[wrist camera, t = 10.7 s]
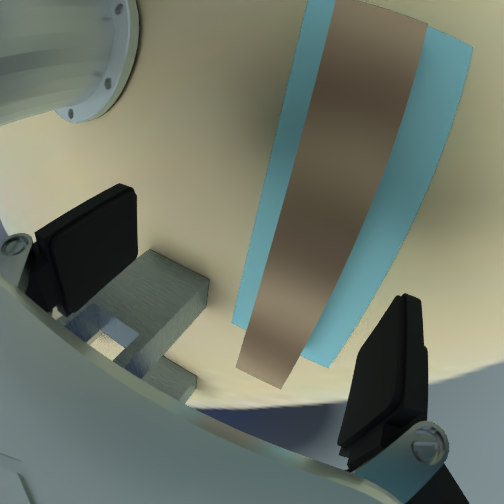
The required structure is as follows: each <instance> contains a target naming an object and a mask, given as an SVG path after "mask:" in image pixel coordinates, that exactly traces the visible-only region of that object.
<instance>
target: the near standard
mask: <svg viewBox="0 0 504 504" xmlns="http://www.w3.org/2000/svg"><path fill="white" fill-rule="evenodd" d="M209 281H210V280H209V279H207V278H205V277H203V276H201V275H199V274H197V273H195V272H193V271H191V270H189V269H187V268H185V267H183V266H181V265H179V264H177V263H175V262H173V261H171V260H169V259H167V258H165V257H164V256H162V255H160V254H158V253H156V252H154V251H152V250H150V249H149V250H148V251H146V252H145V253H143V254H142V255H141V256H139V257H138V258H137V259H135V261H134V262H133V263H131V264H130V265H129V266H128V267H127V268H125V269H124V270H123V271H122V272H121V273H120V274H119V275H117V276H116V277H115V278H114V279H113V280H112V281H111V282H109V283H108V284H107V285H106V286H105V287H104V288H103V289H101V290H100V291H99V292H98V293H97V294H96V295H95V296H94V297H93V298H91V299H90V300H89V301H88V302H87V303H86V304H85V305H84V306H83V307H82V308H81V309H79V310H78V311H77V312H75V313H72V314H71V315H70V316H69V317H67V318H66V317H65V316H64V315H62V316H61V317H59V318H58V319H57V321H58V322H59V323H60V324H62V325H63V326H64V327H65V328H67V329H68V330H69V331H71V332H72V333H73V334H75V335H76V336H77V337H79V338H80V339H81V340H83V341H84V342H87V341H89V340H90V339H91V338H92V337H93V336H94V335H95V334H96V333H97V332H99V331H100V330H101V331H102V332H104V333H105V334H106V335H108V336H109V337H110V338H112V339H113V340H114V341H116V342H117V343H119V344H120V345H121V346H123V347H124V348H125V349H124V350H123V351H122V352H121V353H120V354H119V355H118V356H117V357H116V358H115V359H114V360H113V362H114V363H116V364H117V365H119V366H121V367H122V368H124V369H125V370H127V371H128V372H130V373H132V374H133V375H135V376H136V377H138V378H140V379H142V378H143V377H144V376H145V375H146V373H147V372H148V371H149V370H150V369H151V368H152V367H153V366H154V365H155V363H156V362H157V361H158V360H159V359H160V358H161V357H162V356H163V355H164V353H165V352H166V351H167V350H168V349H169V348H170V347H171V346H172V345H173V343H174V342H175V341H176V340H177V339H178V338H179V337H180V336H181V335H182V333H183V332H184V331H185V330H186V329H187V328H188V327H189V326H190V325H191V323H192V322H193V321H194V320H195V319H196V318H197V317H198V316H199V315H200V313H201V312H202V311H203V310H204V309H205V308H206V302H207V295H208V287H209Z"/></svg>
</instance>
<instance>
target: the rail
mask: <svg viewBox="0 0 504 504" xmlns="http://www.w3.org/2000/svg"><path fill="white" fill-rule="evenodd" d="M427 27H428V24H427V23H424V22H422V21H419V20H416V19H414V18H411V17H408V16H406V15H403V14H400V13H397V12H394V11H391V10H388V9H384V8H381V7H378V6H374V5H371V4H367V3H363V2H360V1H356V0H336V1H335V5H334V9H333V13H332V17H331V22H330V26H329V30H328V34H327V38H326V42H325V46H324V50H323V54H322V58H321V62H320V66H319V70H318V73H317V77H316V81H315V85H314V89H313V93H312V97H311V101H310V104H309V108H308V112H307V116H306V120H305V124H304V127H303V131H302V135H301V139H300V142H299V146H298V150H297V154H296V157H295V161H294V165H293V168H292V172H291V176H290V179H289V183H288V187H287V190H286V194H285V198H284V201H283V205H282V208H281V212H280V216H279V219H278V223H277V226H276V230H275V234H274V237H273V241H272V244H271V248H270V251H269V255H268V258H267V262H266V265H265V269H264V272H263V276H262V279H261V283H260V286H259V290H258V293H257V297H256V300H255V304H254V307H253V310H252V314H251V317H250V321H249V324H248V327H247V331H246V334H245V338H244V341H243V344H242V348H241V351H240V354H239V358H238V361H237V364H236V368H238V369H240V370H242V371H244V372H246V373H248V374H250V375H252V376H254V377H256V378H258V379H260V380H262V381H264V382H266V383H268V384H270V385H272V386H274V387H277V388H279V389H281V388H282V386H283V385H284V383H285V381H286V379H287V378H288V376H289V374H290V372H291V371H292V369H293V367H294V365H295V363H296V362H297V360H298V358H299V356H300V354H301V353H302V351H303V349H304V347H305V345H306V343H307V341H308V339H309V338H310V336H311V334H312V332H313V330H314V328H315V326H316V324H317V322H318V320H319V318H320V316H321V314H322V312H323V310H324V308H325V306H326V304H327V302H328V300H329V298H330V296H331V294H332V292H333V290H334V288H335V286H336V284H337V282H338V279H339V277H340V275H341V273H342V271H343V269H344V267H345V264H346V262H347V260H348V258H349V256H350V253H351V251H352V249H353V247H354V244H355V242H356V240H357V237H358V235H359V233H360V230H361V228H362V226H363V223H364V221H365V218H366V216H367V214H368V211H369V209H370V206H371V204H372V201H373V199H374V196H375V194H376V191H377V189H378V186H379V183H380V181H381V178H382V175H383V173H384V170H385V167H386V165H387V162H388V159H389V156H390V154H391V151H392V148H393V145H394V142H395V139H396V136H397V133H398V130H399V127H400V124H401V121H402V118H403V115H404V112H405V109H406V105H407V102H408V99H409V96H410V92H411V89H412V85H413V82H414V78H415V75H416V71H417V67H418V64H419V60H420V56H421V52H422V48H423V44H424V40H425V35H426V31H427Z"/></svg>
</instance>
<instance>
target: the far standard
mask: <svg viewBox="0 0 504 504" xmlns="http://www.w3.org/2000/svg"><path fill="white" fill-rule="evenodd" d="M141 380H143V381H145V382H146V383H148V384H150V385H151V386H153V387H155V388H156V389H158V390H160V391H162V392H163V393H165V394H167V395H169V396H171V397H172V398H174V399H176V400H178V401H180V402H182V403H183V404H185V403H186V401H187V400H188V399H189V397H190V396H191V395H192V393H193V392H194V391H195V389H196V382H197V376H195V375H194V374H192V373H190V372H189V371H187V370H185V369H183V368H182V367H180V366H178V365H177V364H175V363H173V362H172V361H170V360H169V359H167V358H165V357H164V356H162V357H161V358H160V359H159V360H158V361H157V362H156V363H155V365H154V366H153V367H152V368H151V369H150V370H149V371H148V372H147V373H146V375H145V376H144V377H143V378H142V379H141Z"/></svg>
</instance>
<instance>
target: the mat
mask: <svg viewBox="0 0 504 504" xmlns="http://www.w3.org/2000/svg"><path fill="white" fill-rule="evenodd" d="M335 1H336V0H308V3H307V7H306V11H305V15H304V19H303V23H302V27H301V31H300V36H299V40H298V44H297V48H296V52H295V56H294V60H293V65H292V69H291V73H290V77H289V81H288V85H287V89H286V94H285V98H284V102H283V106H282V110H281V115H280V119H279V123H278V127H277V131H276V136H275V140H274V144H273V148H272V152H271V157H270V161H269V165H268V169H267V173H266V178H265V182H264V186H263V190H262V195H261V199H260V203H259V207H258V212H257V216H256V220H255V224H254V229H253V233H252V237H251V241H250V246H249V250H248V254H247V258H246V263H245V267H244V271H243V276H242V280H241V284H240V288H239V293H238V297H237V301H236V306H235V310H234V314H233V319H232V323H233V324H235V325H237V326H239V327H241V328H243V329H245V330H247V327H248V324H249V321H250V317H251V314H252V310H253V307H254V304H255V300H256V297H257V293H258V290H259V286H260V283H261V279H262V276H263V272H264V269H265V265H266V262H267V258H268V255H269V251H270V248H271V244H272V241H273V237H274V234H275V230H276V226H277V223H278V219H279V216H280V212H281V208H282V205H283V201H284V198H285V194H286V190H287V187H288V183H289V179H290V176H291V172H292V168H293V165H294V161H295V157H296V154H297V150H298V146H299V142H300V139H301V135H302V131H303V127H304V124H305V120H306V116H307V112H308V108H309V104H310V101H311V97H312V93H313V89H314V85H315V81H316V77H317V73H318V70H319V66H320V62H321V58H322V54H323V50H324V46H325V42H326V38H327V34H328V30H329V26H330V22H331V17H332V13H333V9H334V5H335ZM472 51H473V47H472V46H470V45H468V44H466V43H464V42H462V41H460V40H458V39H456V38H453V37H451V36H449V35H447V34H445V33H443V32H440V31H438V30H436V29H433V28H431V27H427V31H426V35H425V40H424V44H423V48H422V52H421V56H420V60H419V64H418V67H417V71H416V75H415V78H414V82H413V85H412V89H411V92H410V96H409V99H408V102H407V105H406V109H405V112H404V115H403V118H402V121H401V124H400V127H399V130H398V133H397V136H396V139H395V142H394V145H393V148H392V151H391V154H390V156H389V159H388V162H387V165H386V167H385V170H384V173H383V175H382V178H381V181H380V183H379V186H378V189H377V191H376V194H375V196H374V199H373V201H372V204H371V206H370V209H369V211H368V214H367V216H366V218H365V221H364V223H363V226H362V228H361V230H360V233H359V235H358V237H357V240H356V242H355V244H354V247H353V249H352V251H351V253H350V256H349V258H348V260H347V262H346V264H345V267H344V269H343V271H342V273H341V275H340V277H339V279H338V282H337V284H336V286H335V288H334V290H333V292H332V294H331V296H330V298H329V300H328V302H327V304H326V306H325V308H324V310H323V312H322V314H321V316H320V318H319V320H318V322H317V324H316V326H315V328H314V330H313V332H312V334H311V336H310V338H309V339H308V341H307V343H306V345H305V347H304V349H303V351H302V353H301V354H300V356H302V357H304V358H306V359H308V360H311V361H313V362H315V363H318V364H320V365H322V366H324V367H327V368H329V366H330V365H331V363H332V362H333V360H334V359H335V357H336V356H337V354H338V353H339V351H340V350H341V348H342V347H343V345H344V344H345V342H346V341H347V339H348V338H349V336H350V334H351V333H352V331H353V330H354V328H355V327H356V325H357V323H358V322H359V320H360V318H361V317H362V315H363V313H364V312H365V310H366V308H367V307H368V305H369V303H370V302H371V300H372V298H373V297H374V295H375V293H376V291H377V290H378V288H379V286H380V284H381V282H382V281H383V279H384V277H385V275H386V273H387V271H388V270H389V268H390V266H391V264H392V262H393V260H394V258H395V256H396V254H397V253H398V251H399V249H400V247H401V245H402V243H403V241H404V239H405V237H406V235H407V233H408V230H409V228H410V226H411V224H412V222H413V220H414V218H415V216H416V213H417V211H418V209H419V207H420V205H421V202H422V200H423V198H424V196H425V193H426V191H427V189H428V186H429V184H430V181H431V179H432V177H433V174H434V172H435V169H436V167H437V164H438V162H439V159H440V156H441V154H442V151H443V148H444V146H445V143H446V140H447V137H448V134H449V132H450V129H451V126H452V123H453V120H454V117H455V113H456V110H457V107H458V104H459V101H460V97H461V94H462V90H463V87H464V83H465V79H466V76H467V72H468V68H469V64H470V60H471V55H472Z"/></svg>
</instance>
